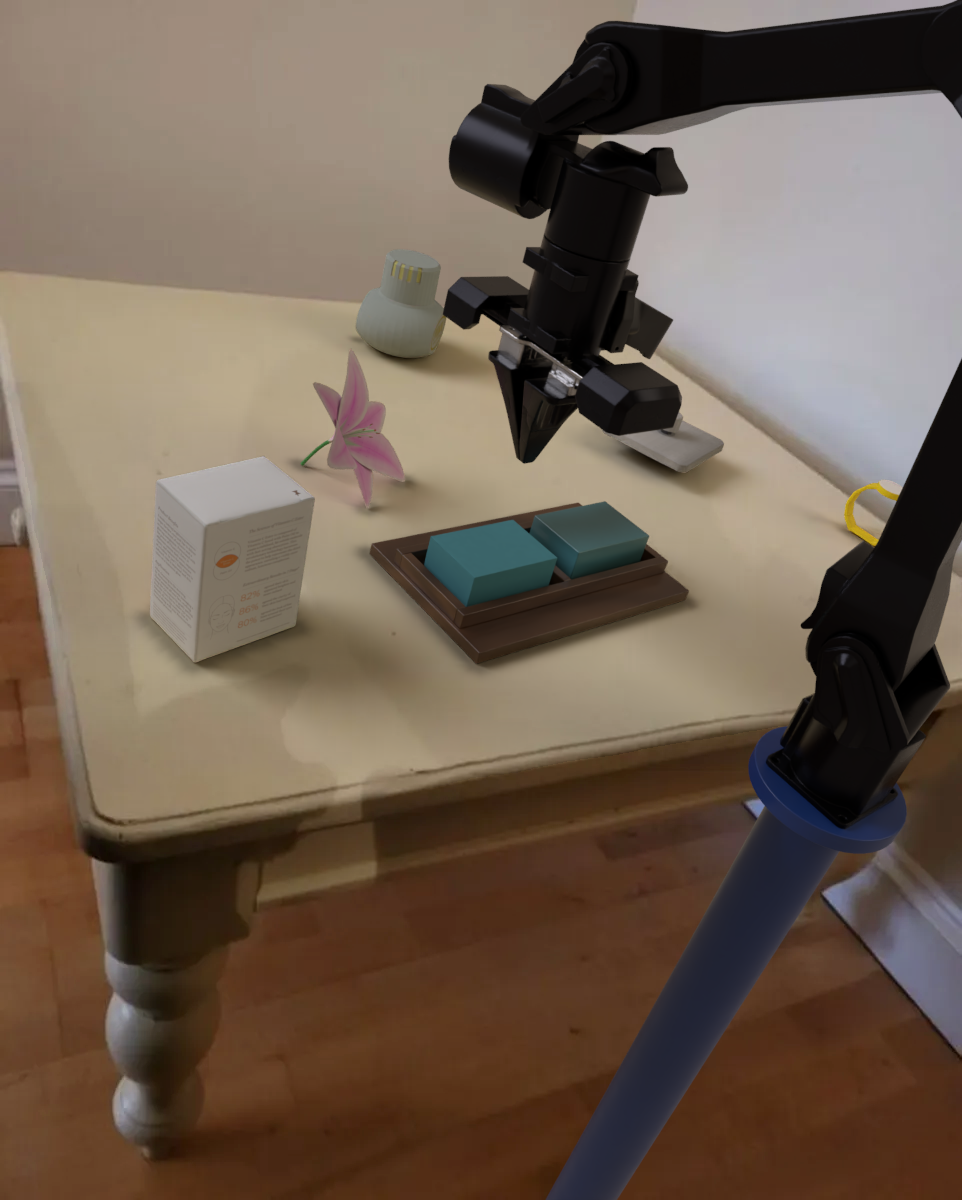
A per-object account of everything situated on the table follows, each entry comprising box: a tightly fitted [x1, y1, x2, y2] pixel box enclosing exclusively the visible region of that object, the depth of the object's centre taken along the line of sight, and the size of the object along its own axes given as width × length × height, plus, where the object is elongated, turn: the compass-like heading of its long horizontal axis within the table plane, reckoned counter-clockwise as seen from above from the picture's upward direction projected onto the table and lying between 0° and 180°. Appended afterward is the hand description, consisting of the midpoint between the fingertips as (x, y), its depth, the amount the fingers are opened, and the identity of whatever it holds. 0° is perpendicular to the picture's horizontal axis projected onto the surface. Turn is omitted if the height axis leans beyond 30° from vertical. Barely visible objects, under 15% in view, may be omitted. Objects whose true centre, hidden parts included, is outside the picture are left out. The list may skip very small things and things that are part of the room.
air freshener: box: [355, 248, 448, 359], centre depth 110 cm, size 11×8×10 cm
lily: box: [300, 348, 406, 510], centre depth 85 cm, size 12×12×10 cm
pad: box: [424, 520, 557, 607], centre depth 76 cm, size 6×8×3 cm
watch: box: [843, 479, 903, 547], centre depth 99 cm, size 6×3×6 cm, turn 46°
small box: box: [149, 455, 316, 663], centre depth 65 cm, size 8×6×10 cm
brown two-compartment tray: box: [369, 501, 690, 664], centre depth 80 cm, size 14×22×4 cm, turn 127°
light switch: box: [601, 412, 725, 473], centre depth 104 cm, size 10×10×5 cm
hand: (524, 460), depth 73 cm, fingers closed
